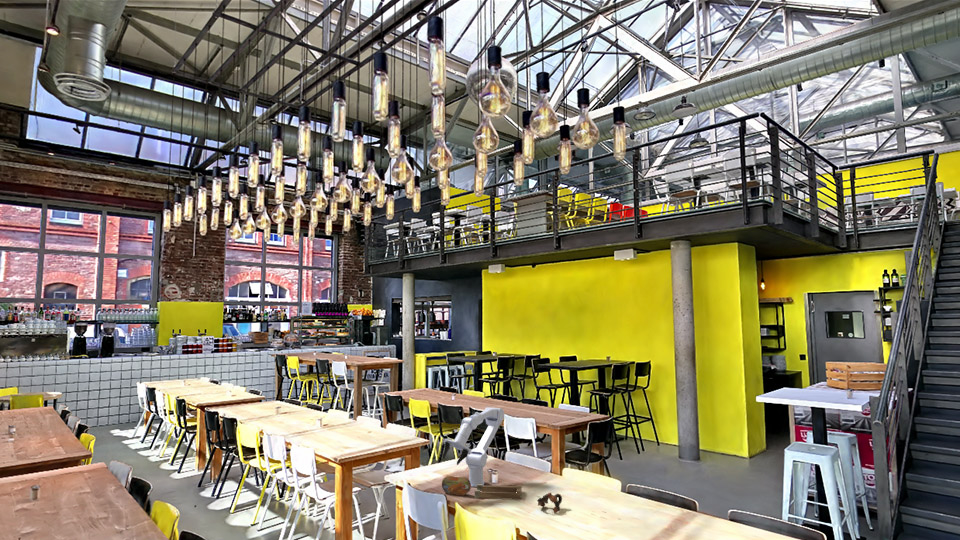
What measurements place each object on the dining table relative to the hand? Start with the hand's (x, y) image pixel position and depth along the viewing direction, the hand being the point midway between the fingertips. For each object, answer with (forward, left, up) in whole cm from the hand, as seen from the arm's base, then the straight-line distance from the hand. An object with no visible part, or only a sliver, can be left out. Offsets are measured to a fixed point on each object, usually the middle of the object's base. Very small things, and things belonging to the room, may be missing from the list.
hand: (450, 460), depth 257 cm
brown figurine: (+13, +48, -17) cm, 53 cm away
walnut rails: (-6, +22, -17) cm, 29 cm away
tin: (-6, +2, -17) cm, 18 cm away
